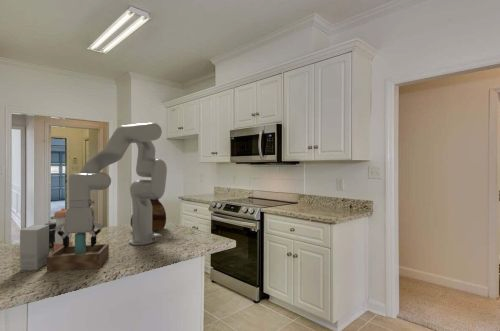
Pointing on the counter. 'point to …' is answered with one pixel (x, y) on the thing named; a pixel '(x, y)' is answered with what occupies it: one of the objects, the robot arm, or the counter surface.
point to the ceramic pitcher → (157, 215)
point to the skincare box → (34, 247)
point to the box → (77, 258)
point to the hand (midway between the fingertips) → (79, 246)
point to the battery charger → (51, 233)
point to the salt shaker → (60, 220)
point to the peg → (80, 243)
